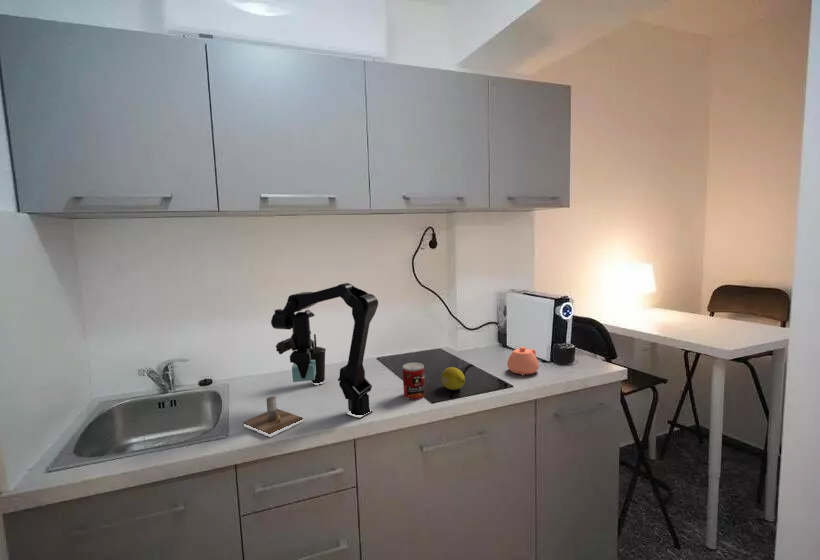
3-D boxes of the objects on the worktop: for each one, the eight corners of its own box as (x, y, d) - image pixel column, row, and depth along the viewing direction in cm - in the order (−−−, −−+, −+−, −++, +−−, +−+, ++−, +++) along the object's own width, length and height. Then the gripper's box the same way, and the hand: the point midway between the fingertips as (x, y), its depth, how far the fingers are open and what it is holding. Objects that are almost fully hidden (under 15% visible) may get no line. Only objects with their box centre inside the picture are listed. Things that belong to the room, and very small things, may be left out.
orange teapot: (501, 371, 166) (500, 347, 165) (524, 364, 174) (523, 340, 173) (524, 379, 156) (524, 353, 155) (548, 371, 163) (548, 346, 162)
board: (303, 422, 128) (301, 396, 127) (270, 438, 118) (267, 410, 117) (276, 412, 136) (274, 388, 135) (243, 426, 126) (240, 400, 126)
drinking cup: (304, 384, 162) (301, 335, 160) (321, 378, 167) (317, 331, 165) (315, 388, 157) (311, 337, 155) (331, 382, 162) (328, 333, 160)
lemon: (437, 386, 153) (436, 365, 152) (456, 382, 155) (455, 362, 155) (450, 396, 143) (449, 374, 142) (470, 392, 145) (469, 370, 144)
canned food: (407, 401, 140) (405, 370, 139) (401, 393, 148) (400, 363, 147) (428, 398, 142) (426, 367, 141) (421, 390, 150) (420, 361, 149)
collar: (316, 373, 143) (315, 359, 143) (314, 380, 136) (313, 365, 136) (295, 375, 142) (294, 361, 142) (292, 382, 135) (291, 367, 135)
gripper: (281, 326, 146) (284, 368, 147) (271, 338, 127) (275, 386, 129) (313, 323, 147) (316, 365, 149) (307, 335, 129) (311, 383, 130)
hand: (304, 374), depth 139 cm, fingers closed on collar, 7 cm apart
